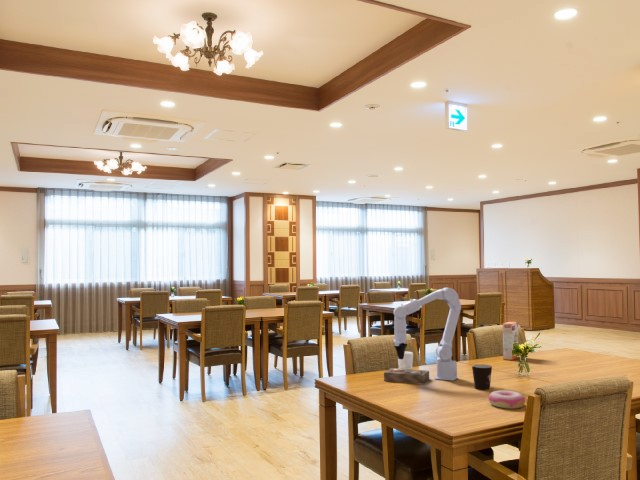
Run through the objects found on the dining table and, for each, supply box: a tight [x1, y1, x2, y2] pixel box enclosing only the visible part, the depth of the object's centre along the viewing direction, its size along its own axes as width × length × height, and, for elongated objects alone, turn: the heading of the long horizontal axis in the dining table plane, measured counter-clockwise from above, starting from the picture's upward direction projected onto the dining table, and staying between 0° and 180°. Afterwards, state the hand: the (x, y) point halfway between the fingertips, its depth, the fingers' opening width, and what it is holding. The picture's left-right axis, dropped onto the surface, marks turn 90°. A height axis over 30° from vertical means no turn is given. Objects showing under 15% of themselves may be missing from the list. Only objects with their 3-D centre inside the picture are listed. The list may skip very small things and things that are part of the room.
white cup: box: [397, 350, 414, 370], centre depth 286 cm, size 8×8×10 cm
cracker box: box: [502, 321, 519, 361], centre depth 323 cm, size 14×6×21 cm, turn 147°
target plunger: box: [392, 367, 403, 372], centre depth 268 cm, size 5×5×4 cm
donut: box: [488, 389, 526, 410], centre depth 217 cm, size 14×13×5 cm
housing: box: [383, 367, 430, 385], centre depth 266 cm, size 19×12×4 cm, turn 65°
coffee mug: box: [471, 363, 493, 391], centre depth 247 cm, size 12×9×10 cm
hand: (400, 358), depth 269 cm, fingers closed
